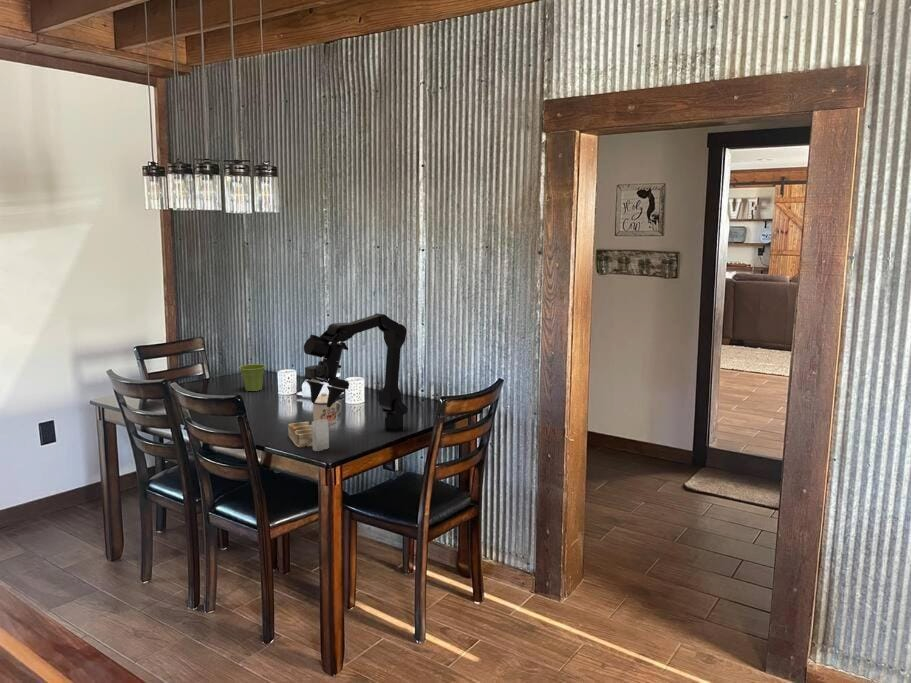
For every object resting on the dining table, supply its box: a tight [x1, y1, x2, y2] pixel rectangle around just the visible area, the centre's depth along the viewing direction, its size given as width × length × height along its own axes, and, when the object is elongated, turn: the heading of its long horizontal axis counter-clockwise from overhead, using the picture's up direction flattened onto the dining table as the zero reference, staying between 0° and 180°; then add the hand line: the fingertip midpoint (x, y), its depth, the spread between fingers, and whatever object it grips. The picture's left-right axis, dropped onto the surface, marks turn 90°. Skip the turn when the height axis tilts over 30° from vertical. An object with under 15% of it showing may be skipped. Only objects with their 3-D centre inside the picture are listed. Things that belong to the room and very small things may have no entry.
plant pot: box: [238, 363, 267, 392], centre depth 333 cm, size 12×12×11 cm
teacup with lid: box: [312, 392, 342, 426], centre depth 279 cm, size 12×9×12 cm
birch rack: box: [287, 421, 313, 448], centre depth 256 cm, size 7×15×5 cm, turn 24°
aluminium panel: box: [311, 419, 330, 452], centre depth 245 cm, size 5×2×10 cm, turn 136°
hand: (320, 404), depth 245 cm, fingers open, 9 cm apart
